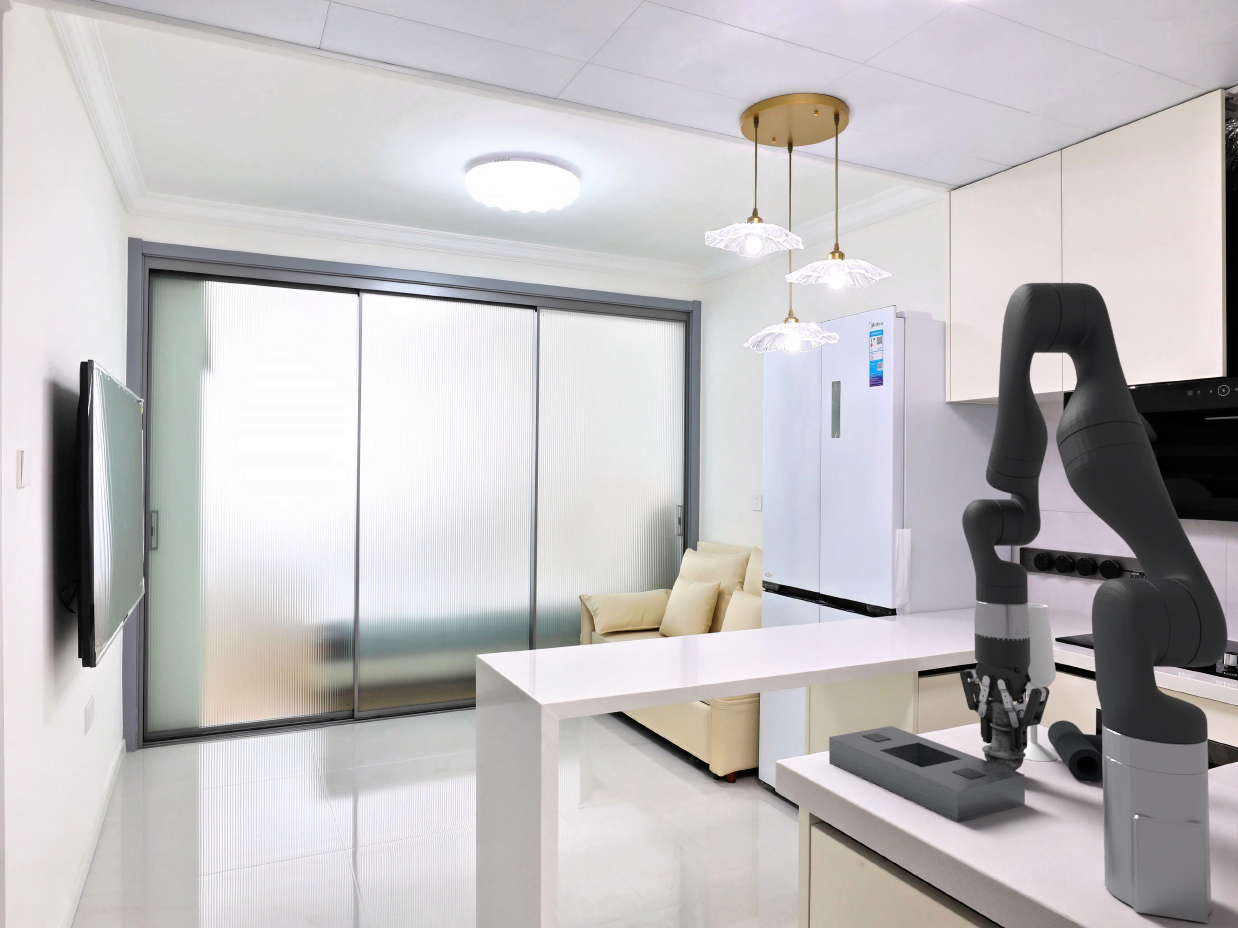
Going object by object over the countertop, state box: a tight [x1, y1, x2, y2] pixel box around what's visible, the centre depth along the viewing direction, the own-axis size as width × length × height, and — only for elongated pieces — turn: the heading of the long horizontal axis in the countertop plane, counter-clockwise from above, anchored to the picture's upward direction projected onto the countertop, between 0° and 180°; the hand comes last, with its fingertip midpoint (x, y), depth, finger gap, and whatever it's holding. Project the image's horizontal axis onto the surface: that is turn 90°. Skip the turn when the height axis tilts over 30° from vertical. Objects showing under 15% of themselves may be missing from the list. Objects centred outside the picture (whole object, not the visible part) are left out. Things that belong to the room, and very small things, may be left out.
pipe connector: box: [1047, 720, 1103, 784], centre depth 120 cm, size 12×5×15 cm
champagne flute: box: [1023, 602, 1058, 762], centre depth 126 cm, size 7×7×24 cm
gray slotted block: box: [828, 725, 1026, 823], centre depth 113 cm, size 24×13×4 cm, turn 26°
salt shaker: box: [981, 700, 1026, 772], centre depth 116 cm, size 6×6×12 cm
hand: (1003, 746), depth 116 cm, fingers closed on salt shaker, 4 cm apart
